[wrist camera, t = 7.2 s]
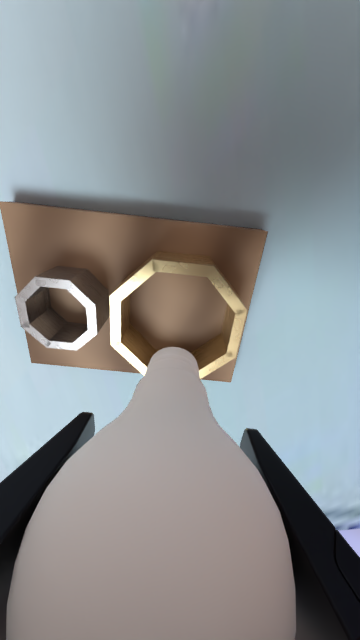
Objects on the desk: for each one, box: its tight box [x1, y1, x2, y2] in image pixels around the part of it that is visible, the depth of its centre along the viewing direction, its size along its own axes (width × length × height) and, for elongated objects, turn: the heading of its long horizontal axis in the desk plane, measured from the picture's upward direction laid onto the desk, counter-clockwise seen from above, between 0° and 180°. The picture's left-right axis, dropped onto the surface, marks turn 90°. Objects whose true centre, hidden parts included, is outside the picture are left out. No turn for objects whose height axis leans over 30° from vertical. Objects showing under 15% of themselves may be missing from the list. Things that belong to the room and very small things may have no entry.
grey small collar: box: [15, 266, 109, 351], centre depth 18 cm, size 5×5×3 cm
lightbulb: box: [6, 347, 296, 640], centre depth 8 cm, size 6×6×11 cm
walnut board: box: [0, 202, 268, 382], centre depth 20 cm, size 18×13×2 cm
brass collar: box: [110, 251, 247, 379], centre depth 18 cm, size 9×9×3 cm
